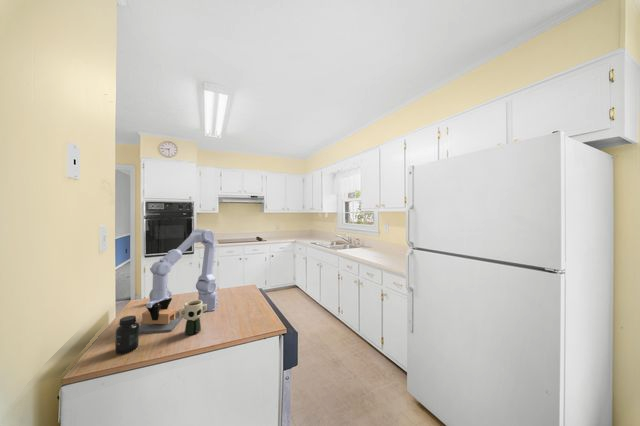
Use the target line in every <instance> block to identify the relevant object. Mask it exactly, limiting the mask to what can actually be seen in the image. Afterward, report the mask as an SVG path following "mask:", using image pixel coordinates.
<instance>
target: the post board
mask: <svg viewBox="0 0 640 426" xmlns="http://www.w3.org/2000/svg"><path fill="white" fill-rule="evenodd" d="M182 320H183V317H179V316H178V317H175V320H170V323H169V324H144V323H141V324H139V335H142V334H154V333H156V334H157V333H169V332H172V331H173V330H174V329H175V328H176V326H178V325H179V323H180V322H182Z"/></svg>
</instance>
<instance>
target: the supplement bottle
mask: <svg viewBox="0 0 640 426" xmlns="http://www.w3.org/2000/svg"><path fill="white" fill-rule="evenodd" d="M118 325H119V326H117V328H116V329H115V340H114V341H115V342H114V343H115V346H114V347H115V348H114V350H115V354H117V355H126V354H129V352H130V353H132V352H134V351H135V350H137V349H138V348H139V344H140V343H139V340H140V339H139V338H140V337H139V336H140V334H139V326H140V323H138V322H137V317H136V315H127V316H123V317H121V318H120V319H119V324H118ZM136 348H137V349H136ZM133 350H134V351H133ZM131 351H132V352H131ZM125 353H126V354H125Z"/></svg>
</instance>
